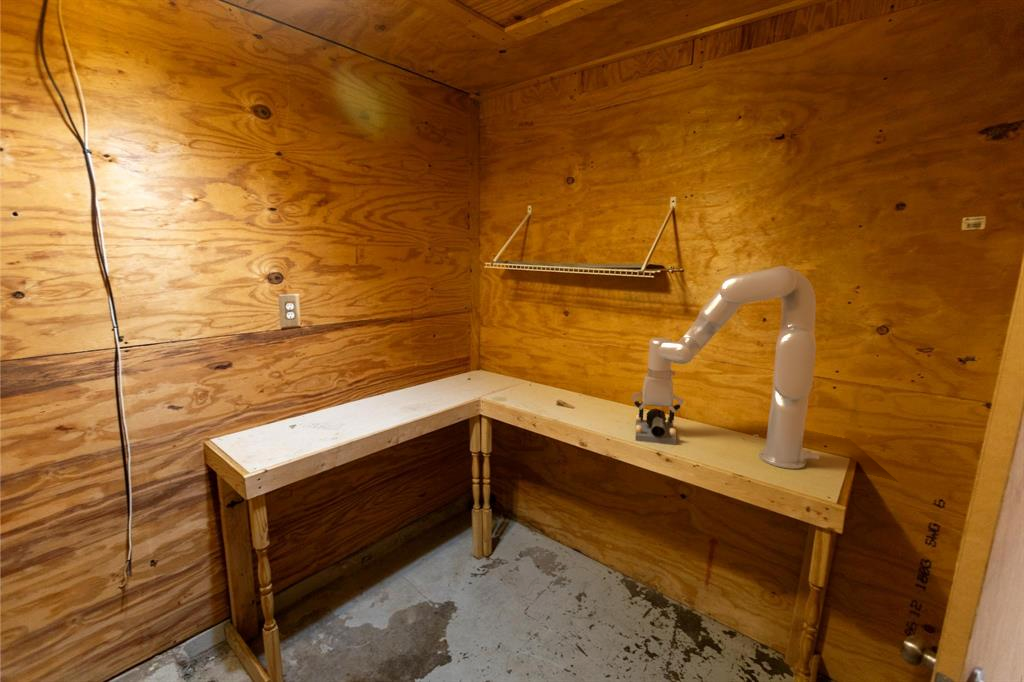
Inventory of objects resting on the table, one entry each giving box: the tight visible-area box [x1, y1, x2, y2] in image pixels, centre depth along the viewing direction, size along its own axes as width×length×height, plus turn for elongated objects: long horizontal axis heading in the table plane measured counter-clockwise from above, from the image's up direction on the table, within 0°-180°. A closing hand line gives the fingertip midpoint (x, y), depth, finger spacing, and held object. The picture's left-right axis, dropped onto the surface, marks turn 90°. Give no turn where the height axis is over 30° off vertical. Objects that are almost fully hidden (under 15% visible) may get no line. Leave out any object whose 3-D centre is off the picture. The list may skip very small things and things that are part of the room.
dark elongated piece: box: [645, 407, 667, 438], centre depth 162 cm, size 18×7×6 cm, turn 162°
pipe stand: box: [635, 413, 677, 446], centre depth 162 cm, size 13×16×4 cm
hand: (655, 420), depth 161 cm, fingers open, 9 cm apart
